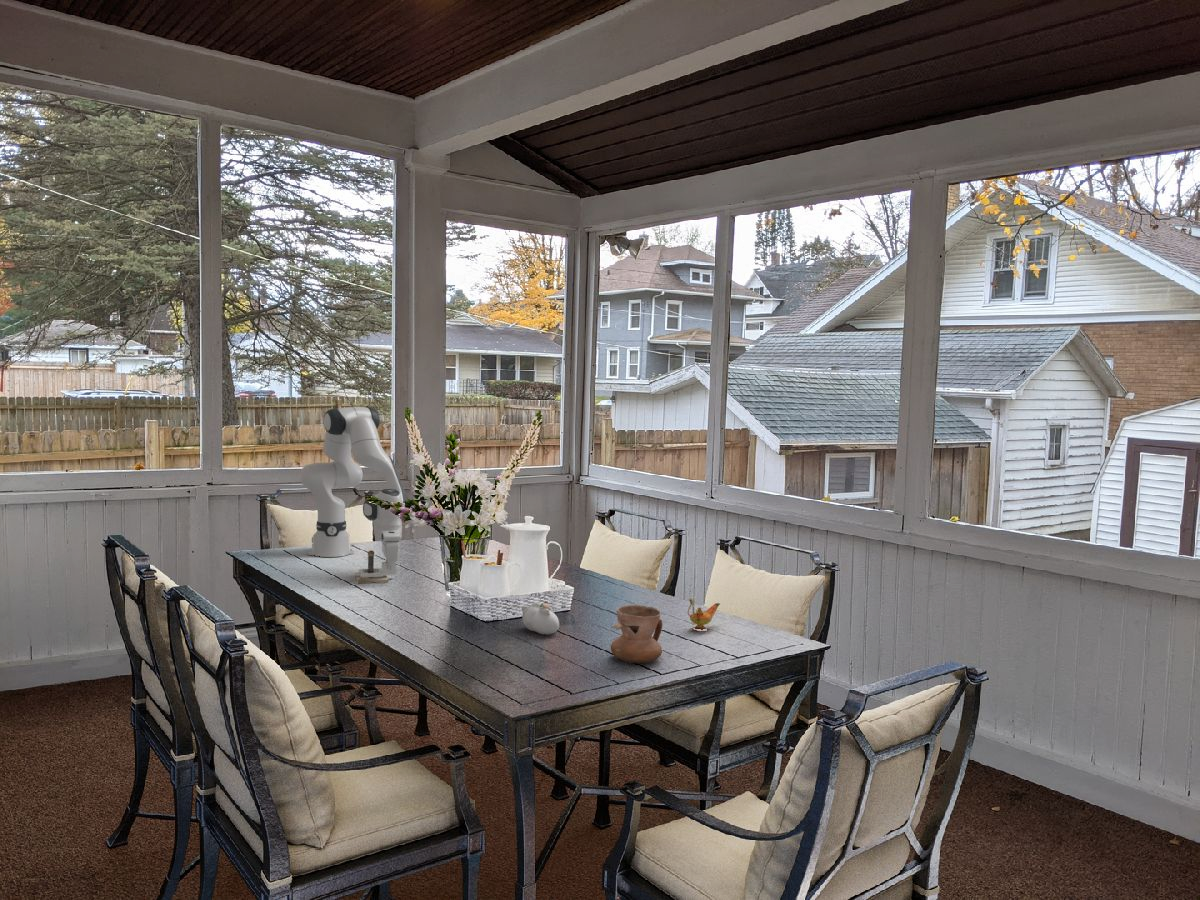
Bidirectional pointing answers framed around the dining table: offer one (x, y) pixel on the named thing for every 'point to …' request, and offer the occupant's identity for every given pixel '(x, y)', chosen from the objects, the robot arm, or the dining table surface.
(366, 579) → the peg stand
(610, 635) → the dining table surface
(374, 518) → the robot arm
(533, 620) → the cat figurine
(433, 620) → the dining table surface
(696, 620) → the magic lamp
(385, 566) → the link
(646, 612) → the ceramic jug
